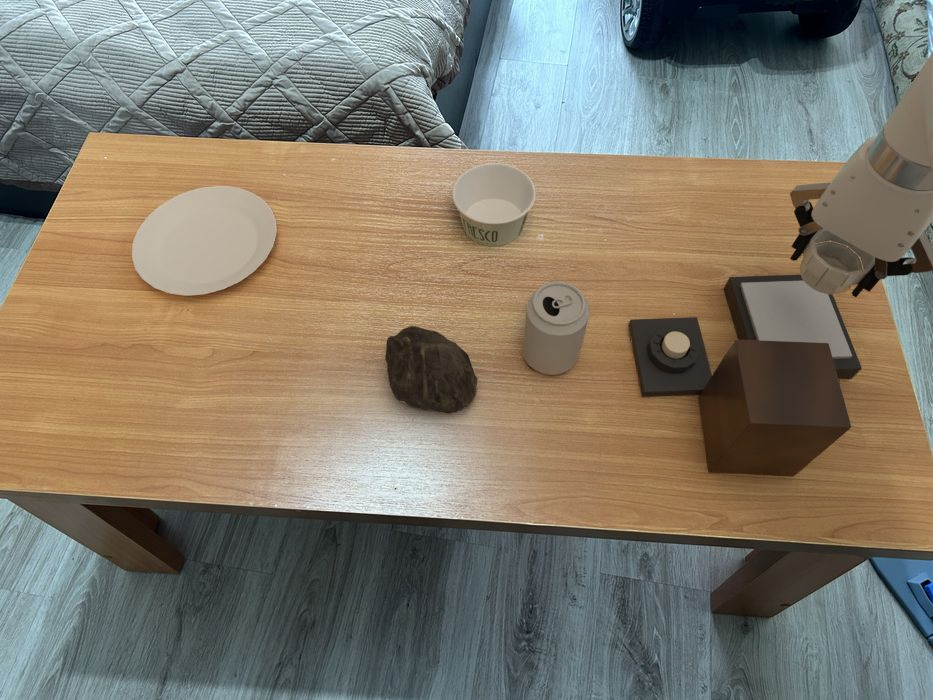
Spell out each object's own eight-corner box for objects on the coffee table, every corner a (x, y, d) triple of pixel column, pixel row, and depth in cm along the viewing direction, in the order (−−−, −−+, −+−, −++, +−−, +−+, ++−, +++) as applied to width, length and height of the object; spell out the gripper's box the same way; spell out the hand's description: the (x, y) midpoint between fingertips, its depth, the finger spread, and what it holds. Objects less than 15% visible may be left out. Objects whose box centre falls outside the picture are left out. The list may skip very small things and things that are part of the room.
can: (513, 338, 88) (518, 284, 77) (565, 323, 89) (577, 268, 78) (533, 384, 84) (541, 334, 74) (587, 369, 85) (602, 317, 75)
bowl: (867, 271, 77) (888, 247, 73) (838, 309, 74) (858, 285, 71) (813, 241, 80) (830, 215, 76) (783, 276, 77) (799, 251, 73)
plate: (177, 329, 89) (171, 320, 87) (115, 240, 98) (108, 230, 96) (306, 254, 96) (303, 244, 94) (237, 176, 105) (233, 165, 103)
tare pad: (712, 394, 83) (720, 383, 80) (642, 397, 83) (647, 385, 80) (694, 322, 88) (700, 310, 86) (628, 324, 88) (632, 312, 86)
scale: (851, 378, 84) (864, 366, 81) (750, 382, 84) (760, 369, 81) (815, 285, 91) (826, 270, 88) (723, 288, 91) (731, 274, 88)
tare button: (689, 358, 82) (692, 352, 81) (664, 359, 82) (667, 353, 81) (684, 337, 84) (687, 330, 83) (659, 338, 84) (662, 331, 83)
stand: (778, 401, 82) (828, 342, 70) (794, 476, 77) (851, 427, 65) (697, 397, 83) (734, 339, 71) (708, 472, 77) (750, 423, 65)
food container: (539, 201, 101) (543, 169, 95) (523, 260, 95) (526, 229, 89) (464, 188, 102) (463, 156, 97) (444, 245, 96) (442, 214, 91)
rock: (476, 425, 80) (464, 378, 72) (388, 423, 82) (367, 377, 74) (484, 360, 86) (474, 310, 78) (402, 359, 88) (384, 310, 80)
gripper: (1025, 178, 59) (913, 292, 75) (847, 94, 66) (777, 215, 81) (993, 224, 57) (884, 333, 72) (810, 132, 63) (745, 250, 78)
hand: (828, 270), depth 76 cm, fingers closed on bowl, 7 cm apart
